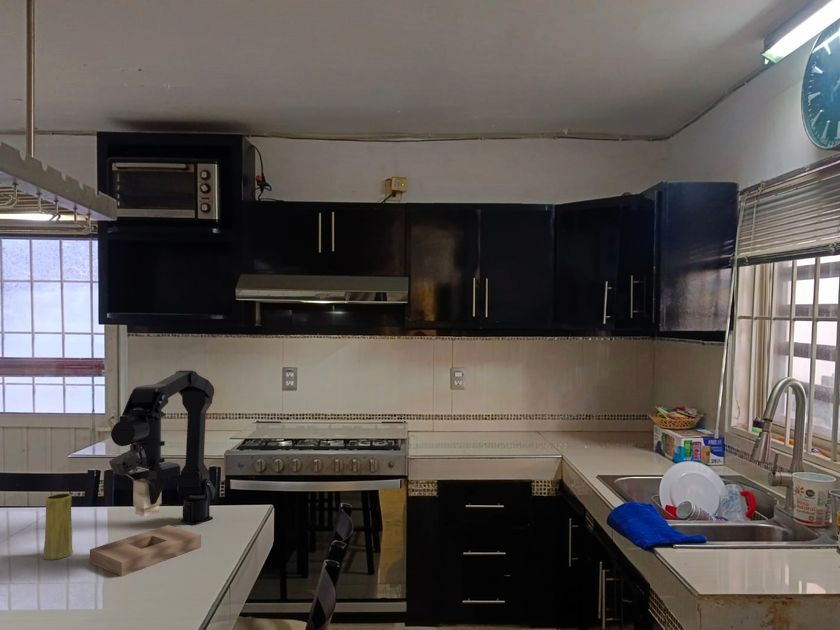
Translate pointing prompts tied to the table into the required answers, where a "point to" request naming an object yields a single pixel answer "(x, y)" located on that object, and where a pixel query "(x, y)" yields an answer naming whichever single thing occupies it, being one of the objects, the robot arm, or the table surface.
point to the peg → (143, 499)
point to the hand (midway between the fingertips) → (147, 502)
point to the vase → (58, 527)
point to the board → (144, 549)
